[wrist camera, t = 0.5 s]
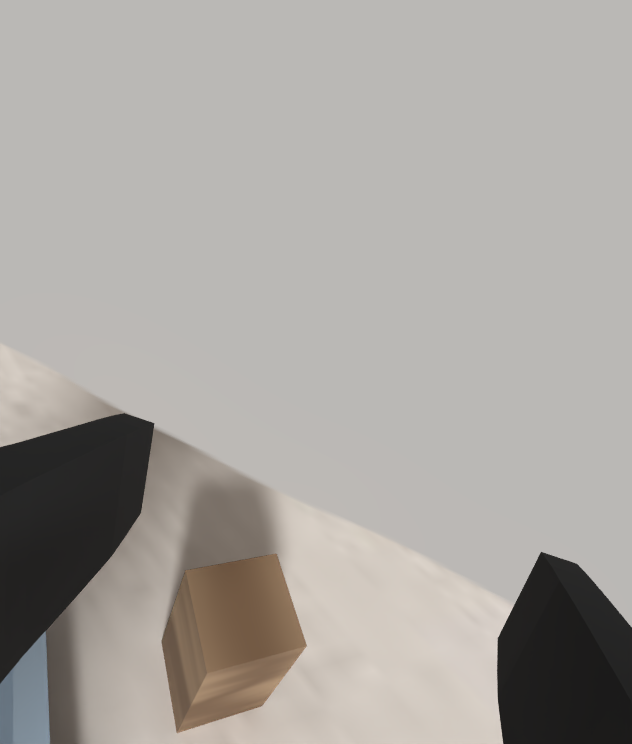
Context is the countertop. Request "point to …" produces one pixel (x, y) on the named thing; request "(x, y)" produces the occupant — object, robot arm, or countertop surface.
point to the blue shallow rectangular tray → (26, 699)
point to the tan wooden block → (229, 639)
